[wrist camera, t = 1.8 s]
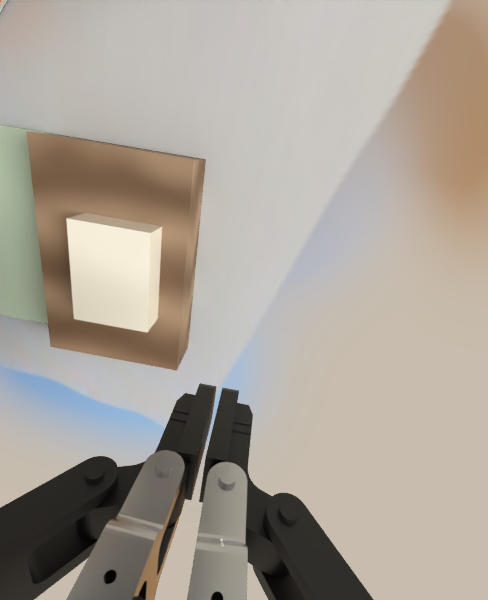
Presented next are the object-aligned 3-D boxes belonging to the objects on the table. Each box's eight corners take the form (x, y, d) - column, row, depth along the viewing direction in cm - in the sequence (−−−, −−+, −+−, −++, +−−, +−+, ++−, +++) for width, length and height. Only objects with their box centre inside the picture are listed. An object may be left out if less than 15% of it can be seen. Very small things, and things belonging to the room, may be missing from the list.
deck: (61, 135, 26) (26, 131, 23) (205, 159, 26) (193, 159, 22) (75, 326, 34) (50, 346, 30) (187, 347, 33) (176, 370, 30)
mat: (-68, 113, 27) (-74, 112, 26) (61, 135, 26) (57, 134, 26) (-26, 307, 34) (-30, 309, 33) (75, 326, 34) (72, 328, 33)
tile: (85, 213, 25) (66, 218, 22) (162, 226, 24) (150, 233, 22) (89, 306, 28) (73, 319, 26) (157, 318, 28) (147, 332, 25)
